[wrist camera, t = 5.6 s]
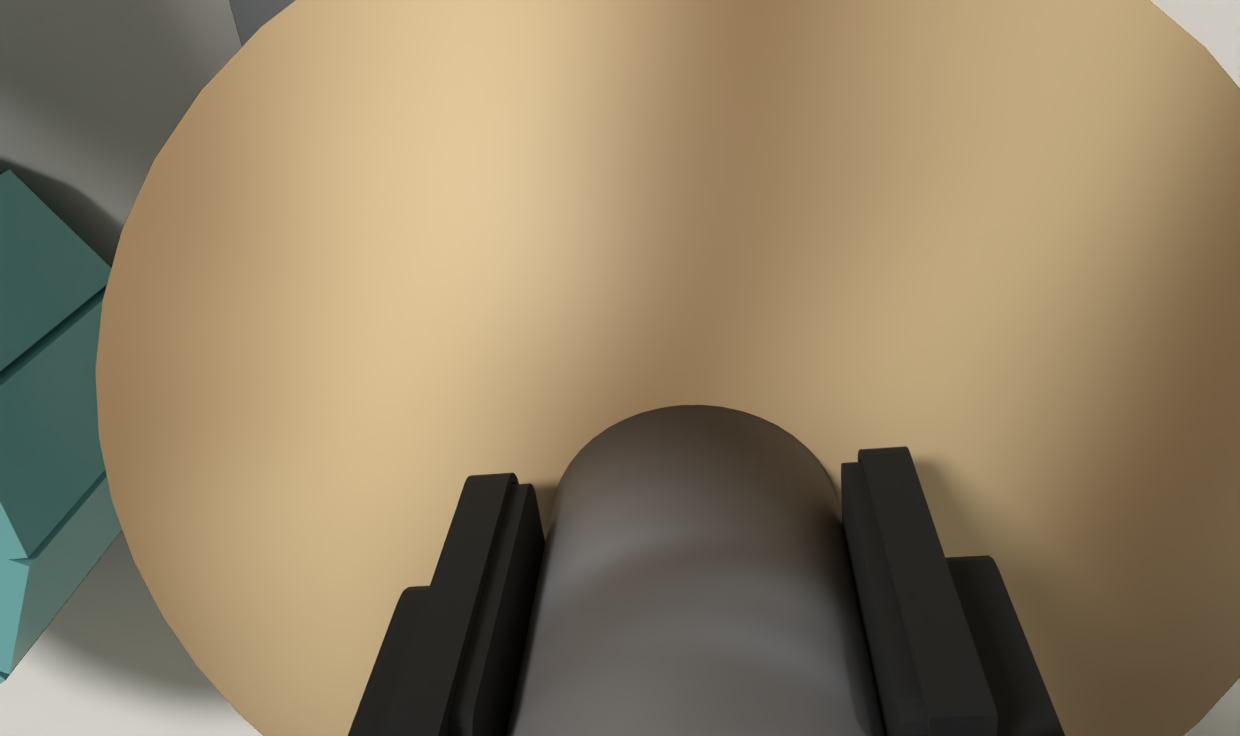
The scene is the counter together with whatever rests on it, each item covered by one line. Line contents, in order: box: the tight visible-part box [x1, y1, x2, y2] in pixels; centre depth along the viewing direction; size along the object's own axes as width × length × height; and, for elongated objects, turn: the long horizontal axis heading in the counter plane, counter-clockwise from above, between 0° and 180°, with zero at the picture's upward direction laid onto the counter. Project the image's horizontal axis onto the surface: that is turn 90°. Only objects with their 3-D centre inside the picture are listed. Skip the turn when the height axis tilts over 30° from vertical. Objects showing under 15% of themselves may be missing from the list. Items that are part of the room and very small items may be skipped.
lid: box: [95, 0, 1240, 736], centre depth 11 cm, size 15×15×6 cm
